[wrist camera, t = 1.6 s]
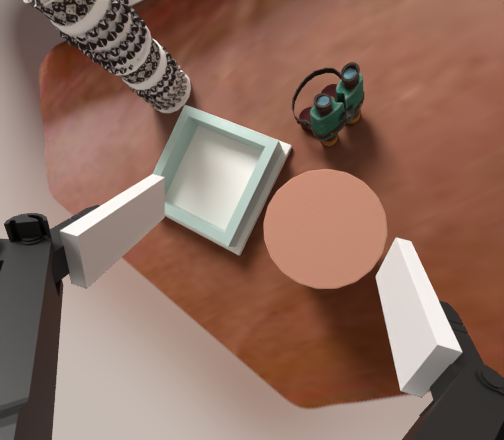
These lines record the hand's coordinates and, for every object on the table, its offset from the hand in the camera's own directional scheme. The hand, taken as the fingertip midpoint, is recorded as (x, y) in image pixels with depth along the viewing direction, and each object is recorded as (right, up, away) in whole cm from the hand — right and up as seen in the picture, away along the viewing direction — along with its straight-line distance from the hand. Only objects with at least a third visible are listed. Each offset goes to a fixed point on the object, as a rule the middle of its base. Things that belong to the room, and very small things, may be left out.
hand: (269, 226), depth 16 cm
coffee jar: (+10, -2, +26) cm, 28 cm away
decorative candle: (-16, +24, +36) cm, 46 cm away
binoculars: (+10, +17, +28) cm, 34 cm away
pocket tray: (-7, +7, +31) cm, 33 cm away
